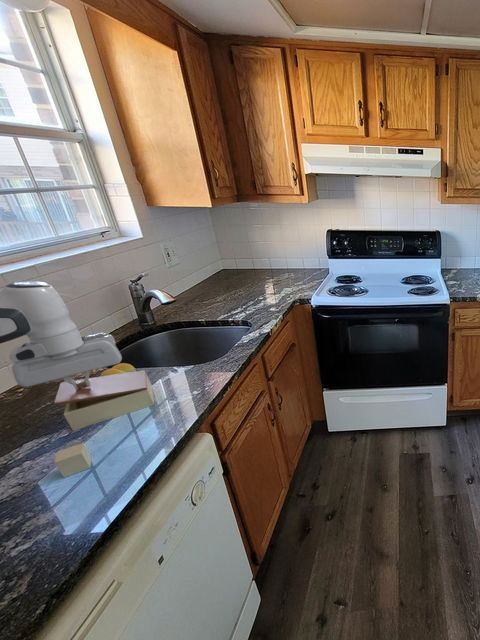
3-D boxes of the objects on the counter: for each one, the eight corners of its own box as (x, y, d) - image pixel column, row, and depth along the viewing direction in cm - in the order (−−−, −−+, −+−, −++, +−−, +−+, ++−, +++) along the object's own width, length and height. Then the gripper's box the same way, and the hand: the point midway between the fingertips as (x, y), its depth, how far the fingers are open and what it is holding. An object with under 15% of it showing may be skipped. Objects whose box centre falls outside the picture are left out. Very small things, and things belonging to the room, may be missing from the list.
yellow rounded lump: (96, 383, 119) (90, 372, 117) (124, 369, 127) (119, 359, 125) (115, 385, 117) (109, 374, 116) (142, 371, 125) (137, 361, 123)
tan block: (63, 477, 81) (54, 462, 79) (66, 466, 85) (56, 451, 83) (90, 467, 84) (81, 452, 82) (92, 457, 87) (83, 442, 85)
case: (72, 430, 97) (63, 414, 94) (77, 408, 106) (69, 392, 104) (154, 404, 107) (147, 389, 104) (152, 386, 116) (145, 371, 114)
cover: (54, 405, 93) (53, 403, 93) (61, 384, 102) (60, 382, 102) (147, 389, 104) (146, 387, 104) (145, 371, 114) (145, 370, 114)
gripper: (111, 327, 103) (131, 370, 108) (5, 350, 91) (34, 396, 97) (110, 334, 98) (131, 378, 104) (-1, 359, 87) (29, 406, 93)
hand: (83, 387), depth 100 cm, fingers closed
